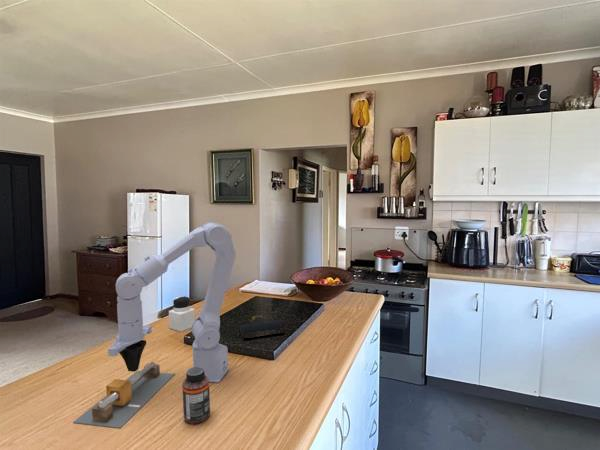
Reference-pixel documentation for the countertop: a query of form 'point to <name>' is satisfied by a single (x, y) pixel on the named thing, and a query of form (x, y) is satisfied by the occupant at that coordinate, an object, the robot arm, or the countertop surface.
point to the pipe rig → (141, 391)
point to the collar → (124, 390)
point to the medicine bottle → (181, 314)
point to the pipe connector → (261, 325)
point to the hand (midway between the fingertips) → (133, 370)
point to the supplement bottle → (196, 396)
